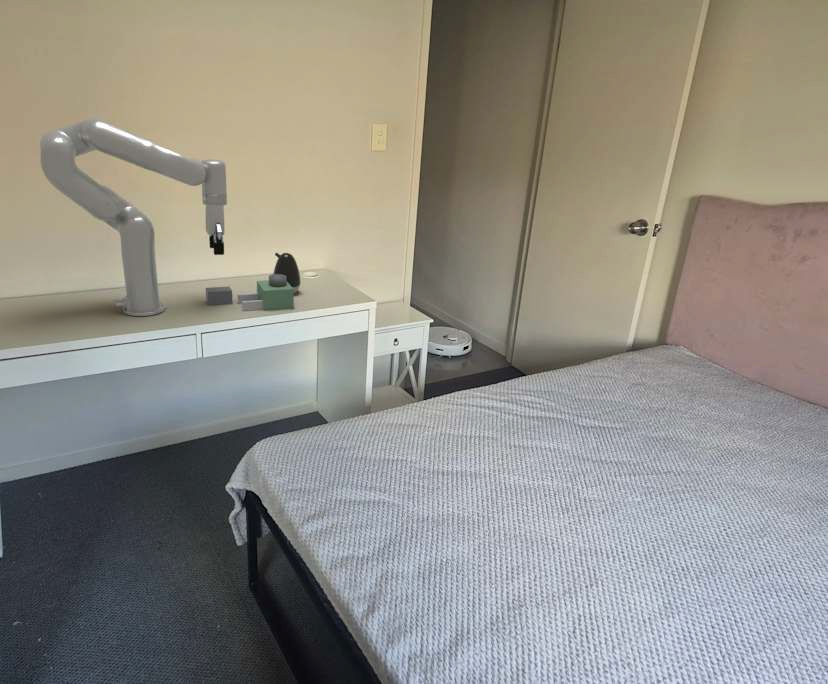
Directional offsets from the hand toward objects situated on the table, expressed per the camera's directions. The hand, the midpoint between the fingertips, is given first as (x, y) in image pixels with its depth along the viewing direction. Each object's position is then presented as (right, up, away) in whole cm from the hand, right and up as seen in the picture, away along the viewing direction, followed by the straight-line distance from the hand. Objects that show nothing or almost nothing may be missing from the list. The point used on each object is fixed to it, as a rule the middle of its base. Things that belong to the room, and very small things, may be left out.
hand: (216, 251), depth 199 cm
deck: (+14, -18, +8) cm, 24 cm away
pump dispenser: (+19, -12, +22) cm, 32 cm away
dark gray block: (-1, -17, +7) cm, 18 cm away
